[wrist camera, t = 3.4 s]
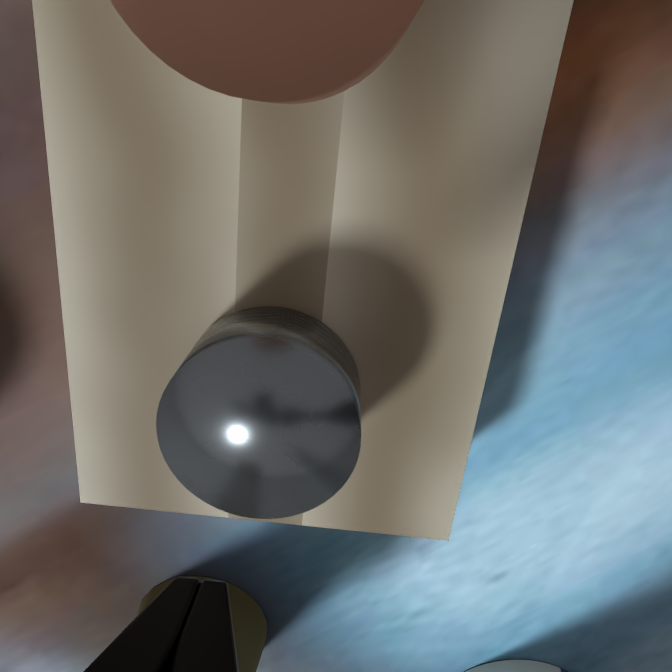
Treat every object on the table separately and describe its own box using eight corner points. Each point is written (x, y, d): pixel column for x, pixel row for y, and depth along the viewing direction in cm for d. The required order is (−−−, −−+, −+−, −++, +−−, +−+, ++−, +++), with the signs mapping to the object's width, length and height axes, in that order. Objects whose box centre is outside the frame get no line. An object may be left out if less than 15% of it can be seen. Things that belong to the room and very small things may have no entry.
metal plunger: (367, 277, 18) (373, 354, 12) (350, 407, 20) (349, 528, 14) (218, 261, 18) (153, 331, 12) (215, 393, 20) (158, 508, 14)
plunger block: (564, -186, 14) (642, -296, 10) (432, 466, 21) (448, 540, 18) (93, -241, 14) (-4, -371, 10) (128, 434, 21) (80, 502, 18)
